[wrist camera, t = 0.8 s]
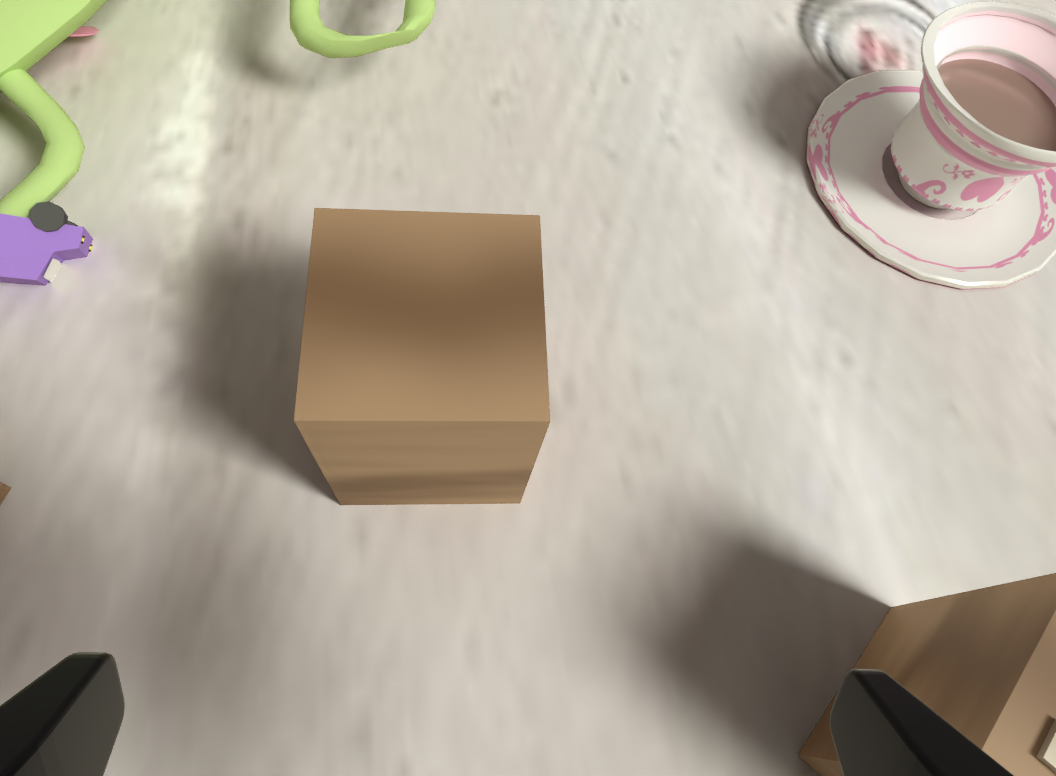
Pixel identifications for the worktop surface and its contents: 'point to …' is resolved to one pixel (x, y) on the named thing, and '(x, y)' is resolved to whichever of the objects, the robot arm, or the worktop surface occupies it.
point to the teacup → (951, 150)
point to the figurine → (25, 213)
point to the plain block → (424, 356)
